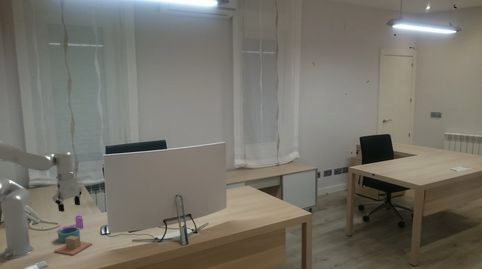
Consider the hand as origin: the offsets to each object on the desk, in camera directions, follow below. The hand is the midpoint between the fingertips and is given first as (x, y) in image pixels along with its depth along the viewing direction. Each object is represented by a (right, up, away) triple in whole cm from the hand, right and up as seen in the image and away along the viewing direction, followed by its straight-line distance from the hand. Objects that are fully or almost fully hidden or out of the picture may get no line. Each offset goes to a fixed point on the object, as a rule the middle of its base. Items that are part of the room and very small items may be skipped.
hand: (69, 208), depth 176 cm
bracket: (-13, -19, +27) cm, 35 cm away
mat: (+2, -21, 0) cm, 21 cm away
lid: (+2, -21, 0) cm, 21 cm away
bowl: (-6, -20, +12) cm, 24 cm away
